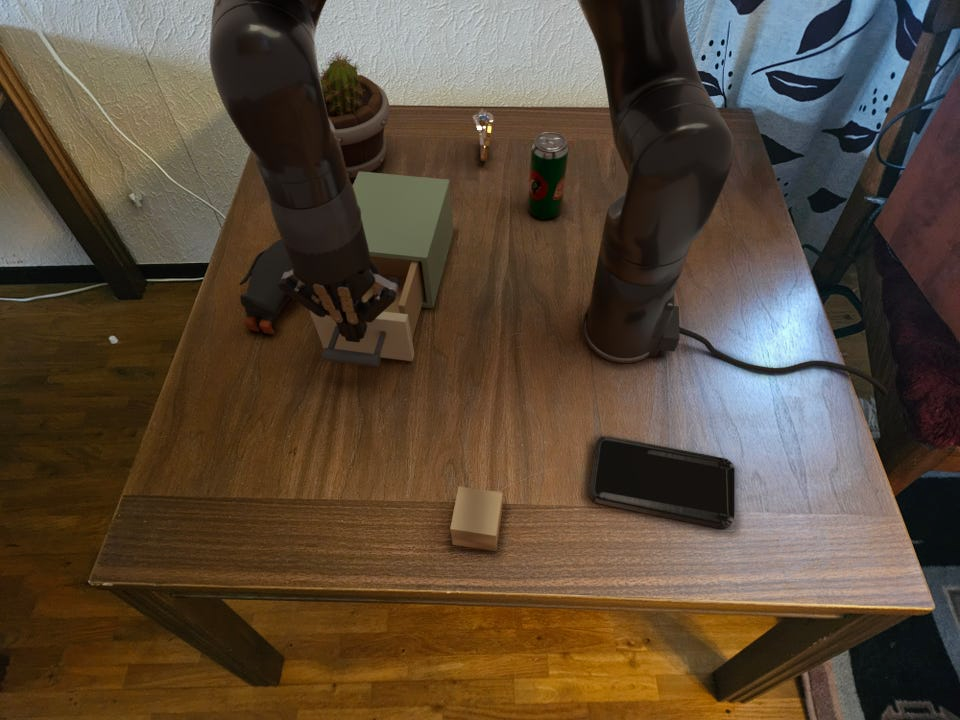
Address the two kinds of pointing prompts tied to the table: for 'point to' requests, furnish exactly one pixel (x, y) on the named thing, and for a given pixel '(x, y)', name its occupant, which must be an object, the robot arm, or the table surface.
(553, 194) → the soda can
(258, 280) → the figurine
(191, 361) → the table surface
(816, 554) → the table surface
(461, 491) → the block
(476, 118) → the ring
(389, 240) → the cabinet
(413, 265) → the drawer
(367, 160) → the flowerpot
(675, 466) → the phone
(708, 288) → the table surface
